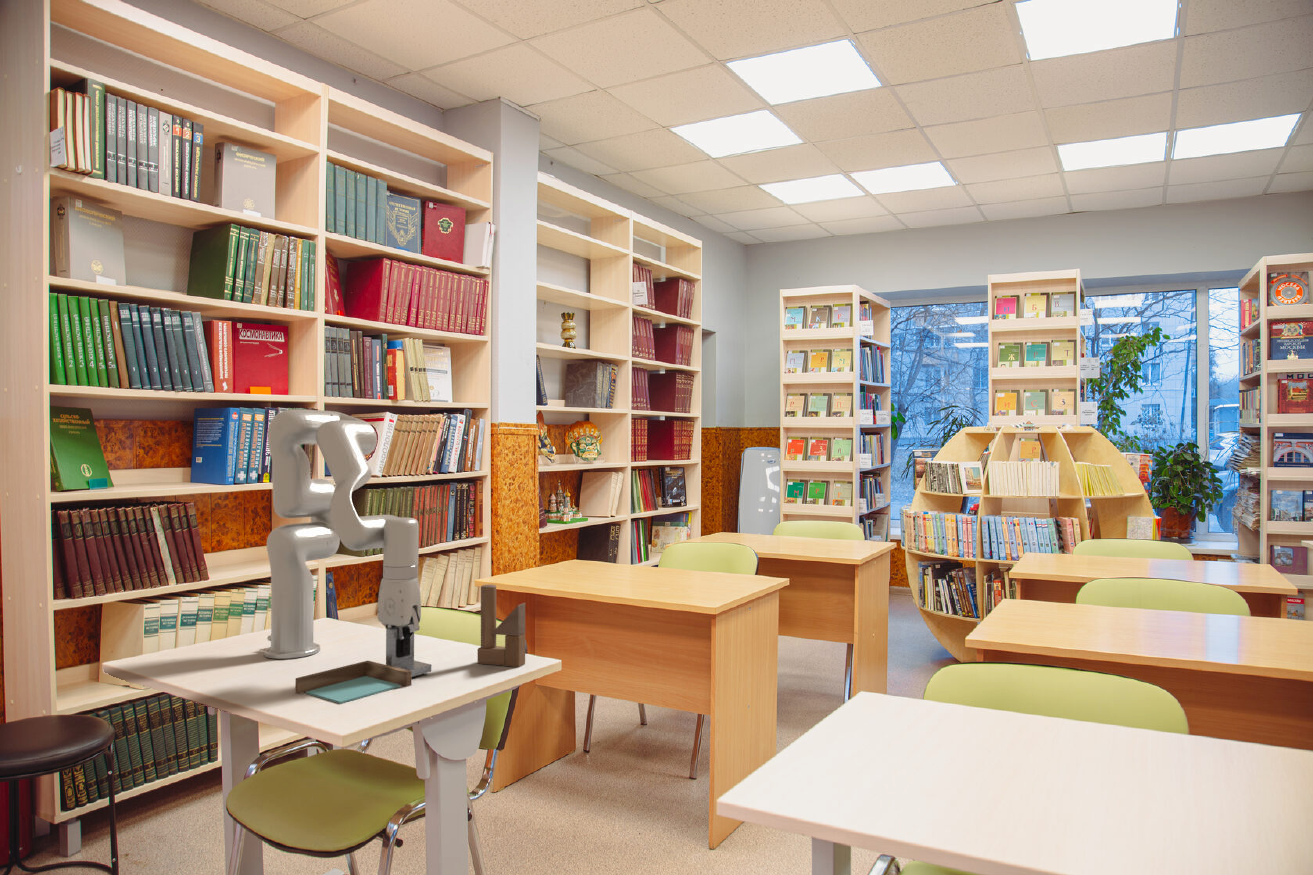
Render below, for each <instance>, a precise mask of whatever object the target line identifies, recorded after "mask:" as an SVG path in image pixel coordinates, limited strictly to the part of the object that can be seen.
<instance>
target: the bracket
mask: <svg viewBox="0 0 1313 875" xmlns="http://www.w3.org/2000/svg"><path fill="white" fill-rule="evenodd" d="M385 629H386V630H385V634H386V635H385V665H388V666H393V667H397V668H401V669H405V670H409V671H411V678H413V677H416V676H420V675H423V674H428V673H431V672H432V664H430V663H426V662H422V661H417V660H415V632H414V633H413V634H412V637H411V638H410V655H409V656H405V657H401V658H398V657H397V640H398V639H399V627H397V626H396V627H391V628H386V627H385ZM405 629H406V628H404V630H405Z"/></svg>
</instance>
